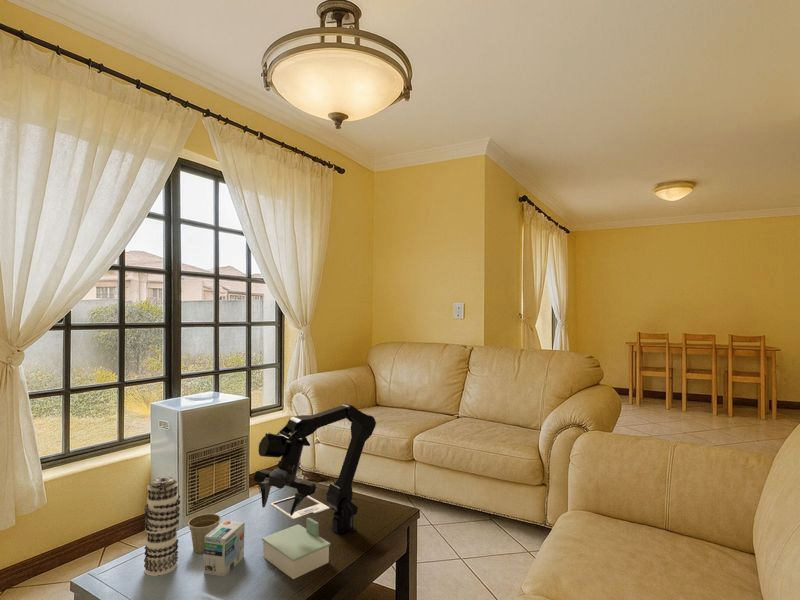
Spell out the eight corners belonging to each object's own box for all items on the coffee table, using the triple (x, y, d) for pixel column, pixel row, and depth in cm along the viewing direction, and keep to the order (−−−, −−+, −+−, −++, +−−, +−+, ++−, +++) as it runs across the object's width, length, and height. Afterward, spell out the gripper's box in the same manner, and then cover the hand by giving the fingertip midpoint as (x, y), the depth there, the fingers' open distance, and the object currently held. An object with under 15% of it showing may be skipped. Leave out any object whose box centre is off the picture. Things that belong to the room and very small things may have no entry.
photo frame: (295, 518, 162) (270, 502, 175) (294, 522, 162) (270, 505, 175) (329, 506, 172) (303, 492, 185) (329, 509, 172) (303, 495, 185)
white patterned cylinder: (186, 561, 135) (188, 475, 136) (163, 579, 126) (165, 487, 127) (159, 556, 138) (161, 472, 138) (135, 574, 128) (137, 483, 129)
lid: (298, 528, 146) (298, 511, 147) (330, 548, 135) (330, 529, 135) (262, 542, 137) (262, 524, 137) (293, 564, 126) (293, 544, 126)
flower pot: (195, 560, 136) (196, 530, 136) (182, 548, 142) (182, 520, 143) (225, 548, 143) (226, 520, 143) (211, 537, 149) (212, 510, 149)
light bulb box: (224, 578, 127) (225, 539, 127) (202, 575, 128) (203, 536, 129) (245, 558, 137) (245, 521, 138) (224, 555, 139) (225, 519, 139)
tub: (297, 544, 146) (298, 526, 146) (328, 564, 135) (328, 545, 135) (263, 558, 137) (263, 540, 137) (293, 581, 126) (293, 561, 126)
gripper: (251, 453, 137) (236, 508, 134) (309, 469, 133) (295, 526, 130) (267, 450, 148) (254, 501, 145) (321, 465, 144) (309, 517, 141)
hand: (277, 511), depth 140 cm, fingers open, 9 cm apart
